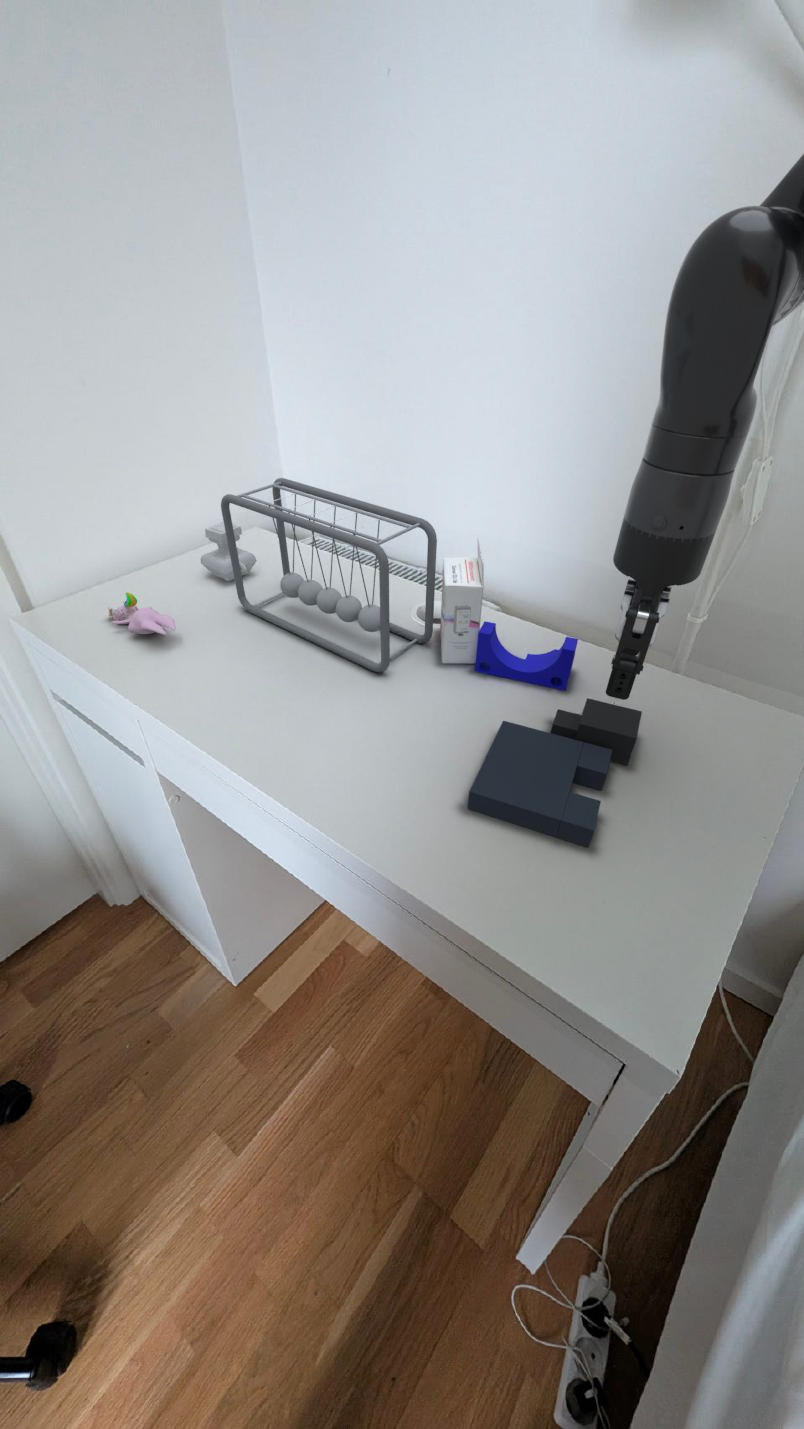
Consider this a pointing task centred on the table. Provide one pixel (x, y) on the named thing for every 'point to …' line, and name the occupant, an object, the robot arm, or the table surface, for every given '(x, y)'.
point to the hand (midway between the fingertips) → (622, 673)
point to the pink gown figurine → (141, 618)
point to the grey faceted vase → (225, 553)
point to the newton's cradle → (329, 597)
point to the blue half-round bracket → (524, 661)
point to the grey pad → (541, 782)
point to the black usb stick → (601, 727)
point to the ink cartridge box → (461, 608)
